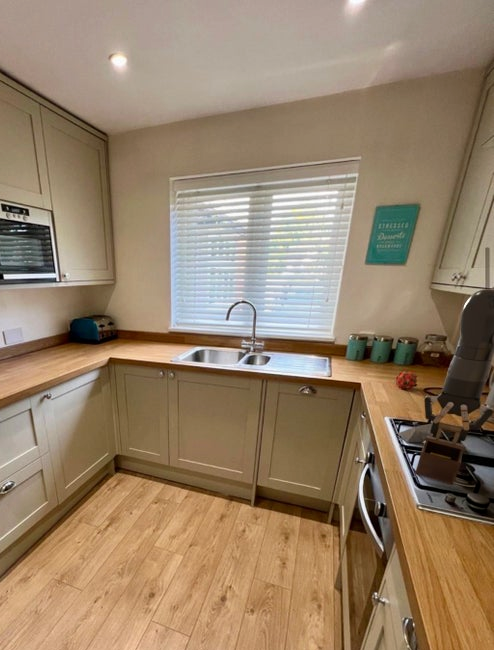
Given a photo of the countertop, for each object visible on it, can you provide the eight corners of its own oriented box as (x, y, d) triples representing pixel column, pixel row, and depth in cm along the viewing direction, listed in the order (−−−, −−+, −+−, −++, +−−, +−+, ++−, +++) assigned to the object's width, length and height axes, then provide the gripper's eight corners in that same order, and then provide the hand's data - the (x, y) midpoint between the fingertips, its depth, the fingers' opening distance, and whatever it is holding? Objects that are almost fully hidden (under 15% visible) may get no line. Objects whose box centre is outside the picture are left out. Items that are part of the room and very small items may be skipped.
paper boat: (395, 439, 105) (389, 421, 112) (403, 453, 107) (396, 434, 114) (440, 427, 98) (430, 409, 106) (447, 442, 101) (437, 423, 108)
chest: (453, 485, 84) (460, 463, 82) (415, 473, 89) (421, 452, 87) (455, 468, 91) (463, 447, 89) (420, 458, 96) (426, 438, 94)
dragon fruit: (405, 387, 161) (404, 397, 153) (391, 375, 163) (389, 385, 154) (421, 376, 156) (421, 386, 147) (406, 364, 157) (405, 373, 148)
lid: (465, 450, 80) (472, 429, 80) (424, 440, 85) (431, 420, 85) (463, 447, 89) (469, 428, 88) (426, 438, 94) (431, 420, 93)
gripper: (506, 377, 78) (482, 441, 84) (432, 367, 86) (415, 425, 93) (507, 385, 72) (481, 453, 79) (428, 373, 81) (411, 435, 87)
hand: (446, 438), depth 86 cm, fingers closed on lid, 4 cm apart
